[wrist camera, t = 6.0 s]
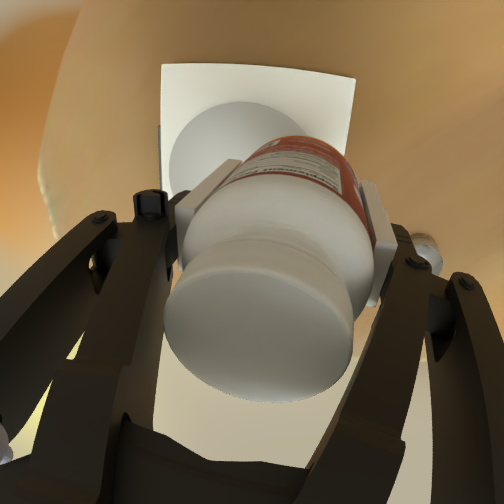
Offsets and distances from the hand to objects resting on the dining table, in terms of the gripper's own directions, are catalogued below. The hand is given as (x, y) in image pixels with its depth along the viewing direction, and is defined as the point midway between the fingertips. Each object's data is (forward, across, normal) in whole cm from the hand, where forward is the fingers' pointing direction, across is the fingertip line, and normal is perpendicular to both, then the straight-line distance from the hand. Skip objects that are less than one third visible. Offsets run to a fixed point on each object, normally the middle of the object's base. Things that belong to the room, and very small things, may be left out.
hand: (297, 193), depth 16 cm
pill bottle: (+1, 0, 0) cm, 1 cm away
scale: (+16, -6, -4) cm, 18 cm away
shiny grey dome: (+16, +14, -10) cm, 24 cm away
